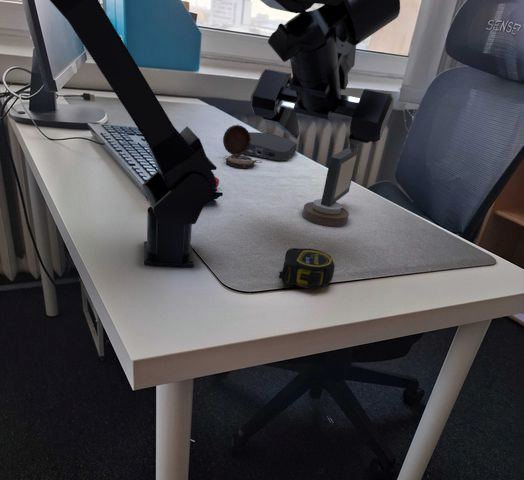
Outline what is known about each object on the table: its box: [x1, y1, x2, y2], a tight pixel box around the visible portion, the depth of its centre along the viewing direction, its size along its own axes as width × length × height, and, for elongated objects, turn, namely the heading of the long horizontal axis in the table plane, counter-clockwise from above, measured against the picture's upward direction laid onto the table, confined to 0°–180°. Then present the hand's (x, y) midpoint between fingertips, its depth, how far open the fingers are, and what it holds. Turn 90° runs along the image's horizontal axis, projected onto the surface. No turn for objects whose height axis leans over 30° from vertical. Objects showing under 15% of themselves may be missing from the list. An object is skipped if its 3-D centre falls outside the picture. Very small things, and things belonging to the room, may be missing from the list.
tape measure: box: [278, 247, 336, 290], centre depth 67 cm, size 7×7×4 cm
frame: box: [312, 146, 360, 215], centre depth 90 cm, size 12×5×9 cm, turn 154°
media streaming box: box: [244, 131, 298, 161], centre depth 123 cm, size 15×15×3 cm
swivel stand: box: [302, 201, 350, 228], centre depth 90 cm, size 8×8×2 cm
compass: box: [222, 124, 263, 169], centre depth 110 cm, size 8×8×7 cm
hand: (325, 142), depth 77 cm, fingers open, 9 cm apart
